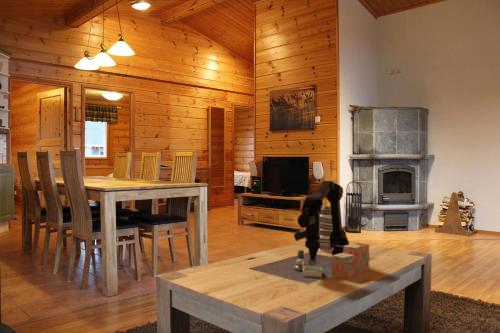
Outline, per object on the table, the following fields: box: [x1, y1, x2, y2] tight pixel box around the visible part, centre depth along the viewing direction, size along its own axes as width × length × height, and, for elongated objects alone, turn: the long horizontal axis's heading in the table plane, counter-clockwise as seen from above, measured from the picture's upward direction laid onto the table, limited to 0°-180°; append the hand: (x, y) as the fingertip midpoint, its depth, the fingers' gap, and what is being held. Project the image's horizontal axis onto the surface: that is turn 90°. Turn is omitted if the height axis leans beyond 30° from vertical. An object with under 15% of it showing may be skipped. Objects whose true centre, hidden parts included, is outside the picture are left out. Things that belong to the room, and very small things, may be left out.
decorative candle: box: [318, 205, 333, 253], centre depth 244 cm, size 9×9×25 cm
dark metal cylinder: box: [307, 250, 318, 266], centre depth 193 cm, size 4×4×7 cm
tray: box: [302, 265, 323, 279], centre depth 193 cm, size 8×8×2 cm
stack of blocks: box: [331, 242, 370, 279], centre depth 196 cm, size 21×6×12 cm, turn 135°
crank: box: [295, 249, 305, 266], centre depth 205 cm, size 11×3×5 cm, turn 170°
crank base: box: [292, 261, 307, 272], centre depth 201 cm, size 6×6×4 cm
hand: (312, 259), depth 193 cm, fingers closed on dark metal cylinder, 4 cm apart
